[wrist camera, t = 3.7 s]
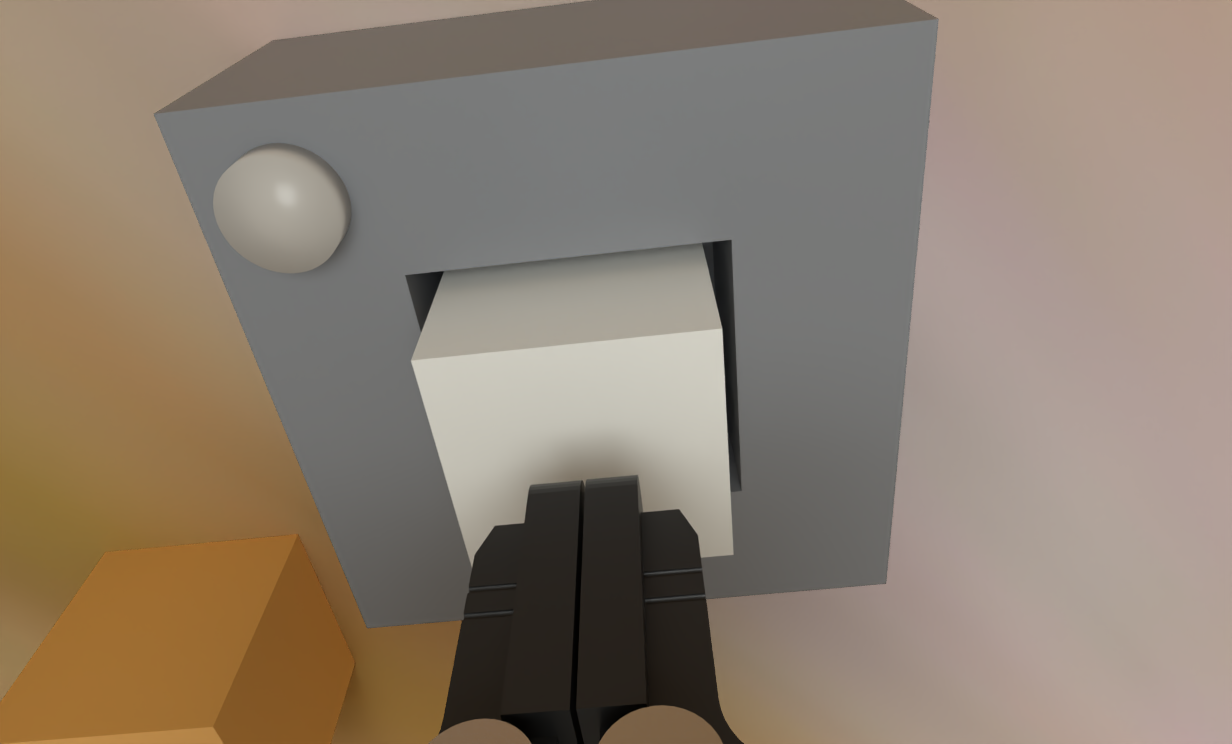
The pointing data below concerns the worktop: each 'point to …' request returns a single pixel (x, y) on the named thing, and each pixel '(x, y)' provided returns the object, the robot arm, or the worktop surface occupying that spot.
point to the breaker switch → (580, 385)
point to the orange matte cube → (188, 652)
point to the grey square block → (579, 246)
